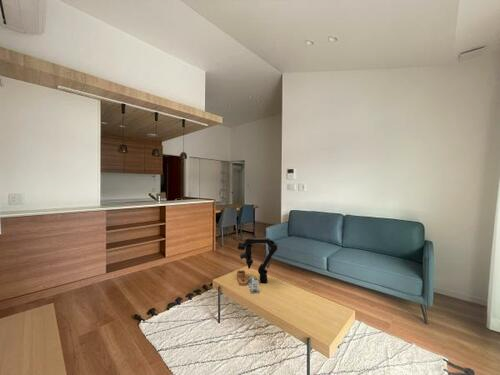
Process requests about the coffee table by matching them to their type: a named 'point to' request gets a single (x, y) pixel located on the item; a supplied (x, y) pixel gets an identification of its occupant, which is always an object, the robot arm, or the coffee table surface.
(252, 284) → the wood-topped grey block
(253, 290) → the mat
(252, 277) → the vise
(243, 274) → the bracket
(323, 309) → the coffee table surface
